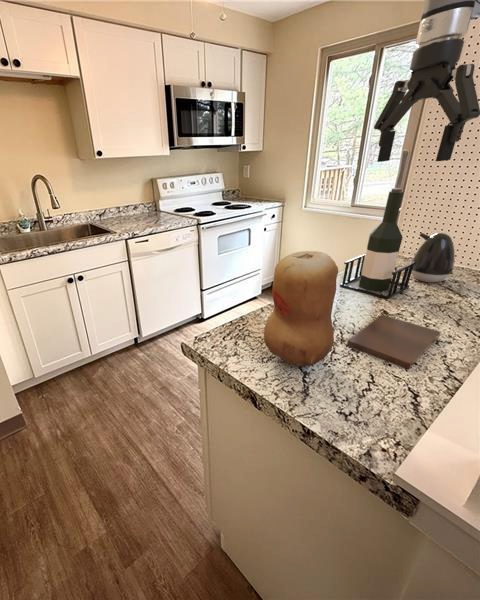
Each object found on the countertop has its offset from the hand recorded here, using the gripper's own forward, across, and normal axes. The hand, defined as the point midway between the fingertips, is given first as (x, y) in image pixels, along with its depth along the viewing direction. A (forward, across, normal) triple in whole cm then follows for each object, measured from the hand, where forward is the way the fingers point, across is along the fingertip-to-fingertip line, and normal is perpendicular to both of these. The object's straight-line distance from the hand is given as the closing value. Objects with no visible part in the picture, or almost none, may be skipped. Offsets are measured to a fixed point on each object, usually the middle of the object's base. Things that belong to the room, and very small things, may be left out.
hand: (410, 161), depth 70 cm
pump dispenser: (+39, -11, +31) cm, 51 cm away
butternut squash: (+38, +12, -33) cm, 52 cm away
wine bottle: (+38, -13, +13) cm, 43 cm away
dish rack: (+38, -13, +13) cm, 42 cm away
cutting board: (+38, +13, -9) cm, 41 cm away
